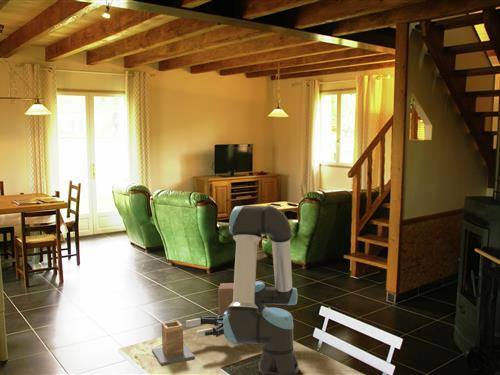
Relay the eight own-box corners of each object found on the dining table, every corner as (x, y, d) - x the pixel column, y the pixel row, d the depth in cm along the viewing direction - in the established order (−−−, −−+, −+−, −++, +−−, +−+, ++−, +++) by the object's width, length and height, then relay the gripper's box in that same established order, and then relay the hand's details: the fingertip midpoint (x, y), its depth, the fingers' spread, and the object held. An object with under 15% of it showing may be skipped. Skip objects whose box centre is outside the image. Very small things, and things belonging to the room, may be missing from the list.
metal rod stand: (194, 358, 197) (194, 332, 196) (161, 365, 191) (160, 338, 190) (183, 345, 211) (182, 320, 210) (151, 351, 205) (151, 326, 204)
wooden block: (240, 329, 228) (239, 288, 226) (219, 330, 228) (218, 288, 226) (241, 322, 238) (240, 282, 236) (220, 322, 238) (219, 282, 236)
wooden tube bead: (183, 353, 199) (182, 325, 198) (167, 357, 196) (166, 328, 195) (178, 347, 206) (177, 320, 205) (162, 350, 203) (161, 323, 202)
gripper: (249, 338, 202) (201, 348, 193) (226, 320, 224) (182, 328, 215) (249, 321, 202) (201, 330, 192) (225, 304, 224) (181, 311, 215)
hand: (191, 329), depth 204 cm, fingers open, 13 cm apart
